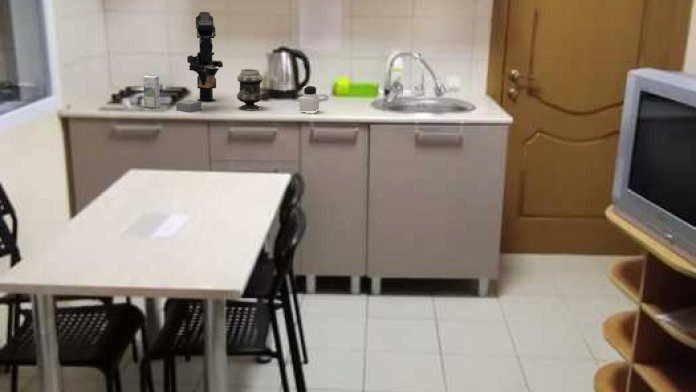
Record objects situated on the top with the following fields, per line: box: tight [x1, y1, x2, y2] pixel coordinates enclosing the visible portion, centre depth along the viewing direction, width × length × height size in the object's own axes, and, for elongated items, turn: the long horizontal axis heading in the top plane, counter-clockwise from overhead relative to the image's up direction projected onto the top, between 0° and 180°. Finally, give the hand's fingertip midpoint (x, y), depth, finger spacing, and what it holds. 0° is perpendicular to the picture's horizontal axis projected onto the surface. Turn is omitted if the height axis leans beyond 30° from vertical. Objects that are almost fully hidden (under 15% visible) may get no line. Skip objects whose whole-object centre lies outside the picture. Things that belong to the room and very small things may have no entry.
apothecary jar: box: [236, 68, 264, 110], centre depth 347 cm, size 12×12×18 cm
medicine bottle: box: [299, 85, 320, 111], centre depth 345 cm, size 7×7×12 cm
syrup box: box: [142, 74, 161, 109], centre depth 343 cm, size 6×6×14 cm
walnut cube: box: [199, 75, 215, 88], centre depth 342 cm, size 5×5×5 cm
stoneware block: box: [175, 99, 202, 113], centre depth 340 cm, size 8×8×4 cm
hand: (206, 84), depth 342 cm, fingers closed on walnut cube, 5 cm apart
